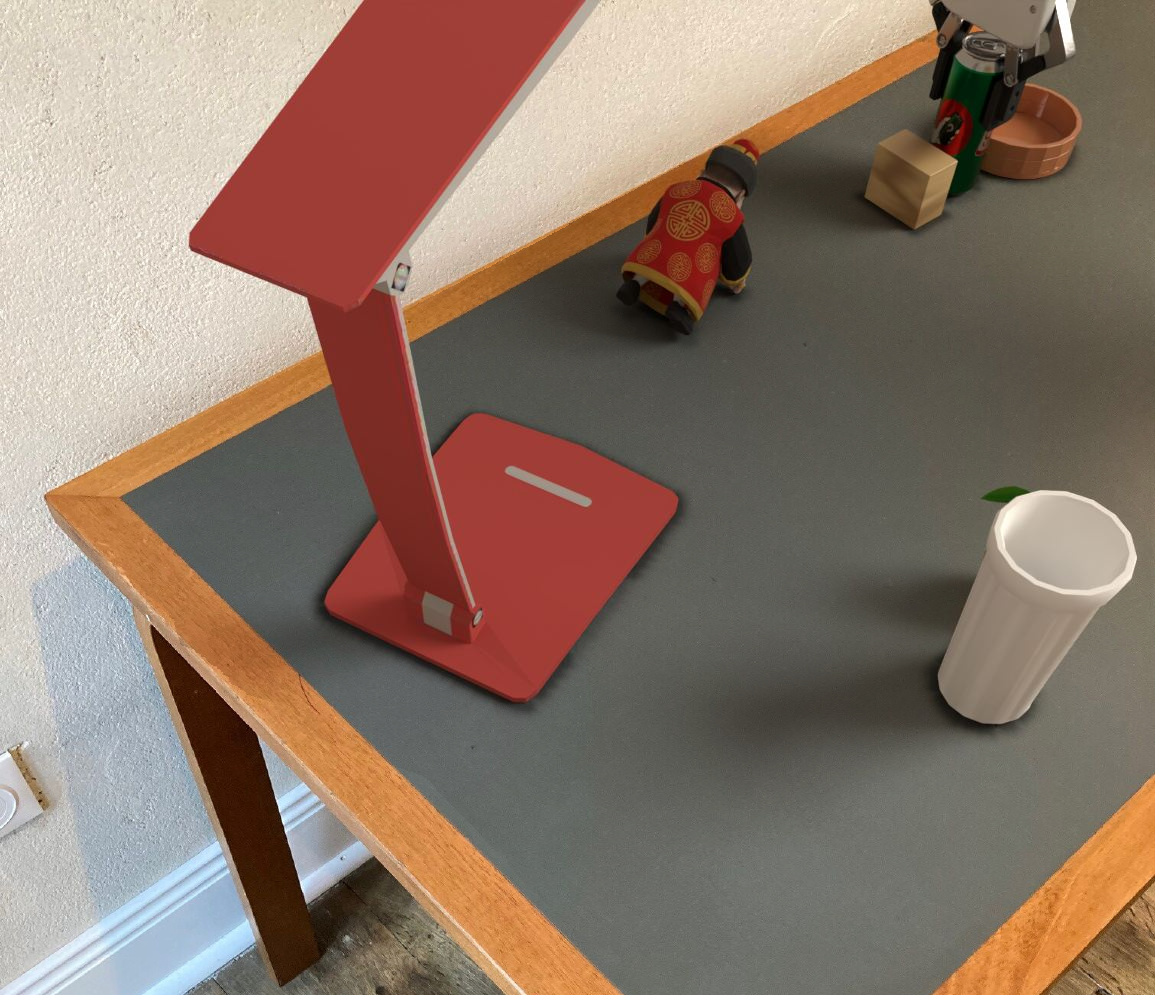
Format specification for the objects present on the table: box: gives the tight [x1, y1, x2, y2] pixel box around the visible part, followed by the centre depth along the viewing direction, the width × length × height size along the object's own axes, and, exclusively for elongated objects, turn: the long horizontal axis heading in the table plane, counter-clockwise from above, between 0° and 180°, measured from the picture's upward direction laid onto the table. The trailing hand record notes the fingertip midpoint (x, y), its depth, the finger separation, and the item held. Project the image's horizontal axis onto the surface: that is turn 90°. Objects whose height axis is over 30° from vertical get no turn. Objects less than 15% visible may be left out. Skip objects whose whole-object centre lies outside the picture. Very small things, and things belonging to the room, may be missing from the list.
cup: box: [937, 489, 1138, 725], centre depth 71 cm, size 8×8×14 cm
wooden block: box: [864, 128, 958, 231], centre depth 102 cm, size 6×4×5 cm, turn 39°
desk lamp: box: [188, 0, 679, 703], centre depth 67 cm, size 18×38×40 cm, turn 151°
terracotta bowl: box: [981, 82, 1083, 180], centre depth 108 cm, size 11×11×3 cm
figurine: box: [615, 138, 760, 336], centre depth 94 cm, size 10×10×15 cm
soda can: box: [928, 30, 1006, 197], centre depth 101 cm, size 5×5×12 cm
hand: (969, 107), depth 100 cm, fingers closed on soda can, 5 cm apart
